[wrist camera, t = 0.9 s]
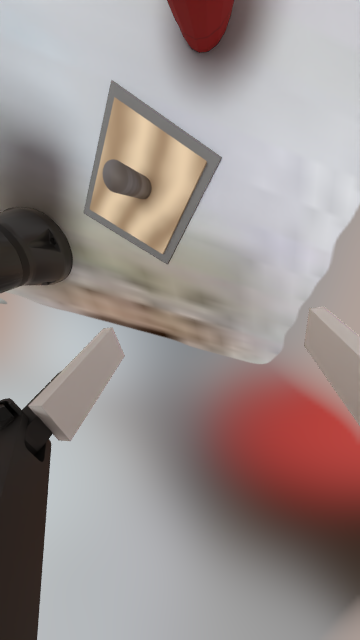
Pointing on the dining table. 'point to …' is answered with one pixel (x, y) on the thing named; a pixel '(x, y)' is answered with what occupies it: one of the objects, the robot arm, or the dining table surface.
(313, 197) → the dining table surface
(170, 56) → the dining table surface
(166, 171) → the lid
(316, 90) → the dining table surface
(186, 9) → the plastic cup
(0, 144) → the dining table surface
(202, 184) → the mat
